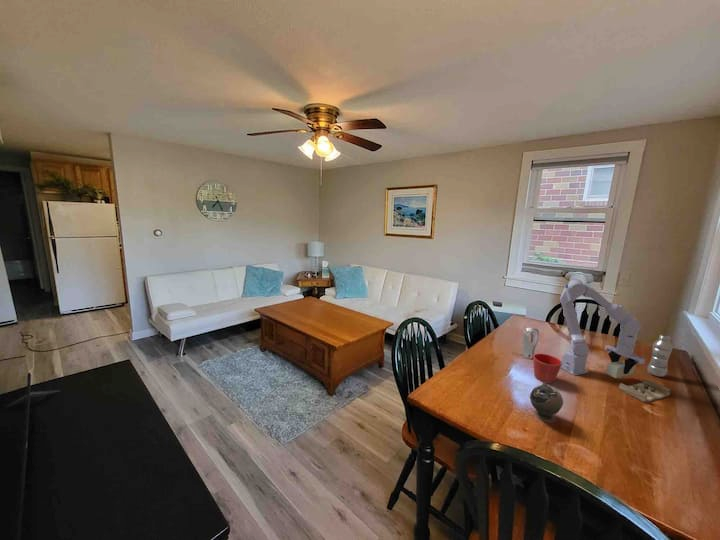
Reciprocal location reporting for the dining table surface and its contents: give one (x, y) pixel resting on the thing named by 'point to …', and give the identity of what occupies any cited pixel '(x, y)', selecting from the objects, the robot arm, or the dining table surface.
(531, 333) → the silver pitcher
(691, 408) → the dining table surface
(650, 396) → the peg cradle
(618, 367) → the pale green block
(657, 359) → the plastic bottle
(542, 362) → the flower pot
